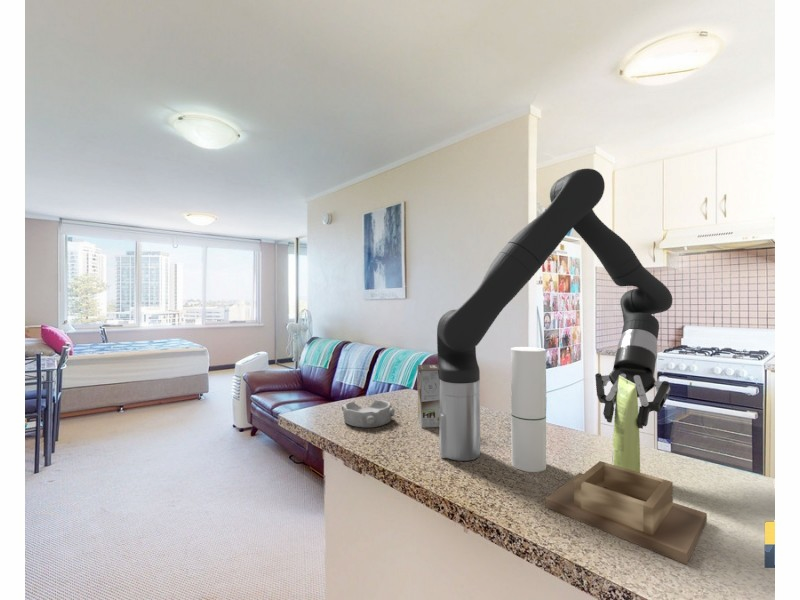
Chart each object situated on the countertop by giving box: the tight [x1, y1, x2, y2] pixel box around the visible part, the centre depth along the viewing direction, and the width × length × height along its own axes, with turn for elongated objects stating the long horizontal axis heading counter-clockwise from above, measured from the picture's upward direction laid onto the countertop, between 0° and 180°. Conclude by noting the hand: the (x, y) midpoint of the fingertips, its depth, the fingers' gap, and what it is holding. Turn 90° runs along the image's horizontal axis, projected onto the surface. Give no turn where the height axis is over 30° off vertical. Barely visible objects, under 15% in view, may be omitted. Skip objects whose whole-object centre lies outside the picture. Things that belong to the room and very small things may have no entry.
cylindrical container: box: [510, 346, 547, 473], centre depth 84 cm, size 7×7×25 cm
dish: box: [341, 399, 395, 428], centre depth 115 cm, size 14×14×5 cm
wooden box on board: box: [545, 460, 708, 565], centre depth 65 cm, size 20×14×6 cm
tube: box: [611, 375, 641, 473], centre depth 79 cm, size 6×5×20 cm
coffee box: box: [416, 363, 440, 429], centre depth 113 cm, size 9×6×16 cm
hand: (624, 423), depth 77 cm, fingers open, 5 cm apart
